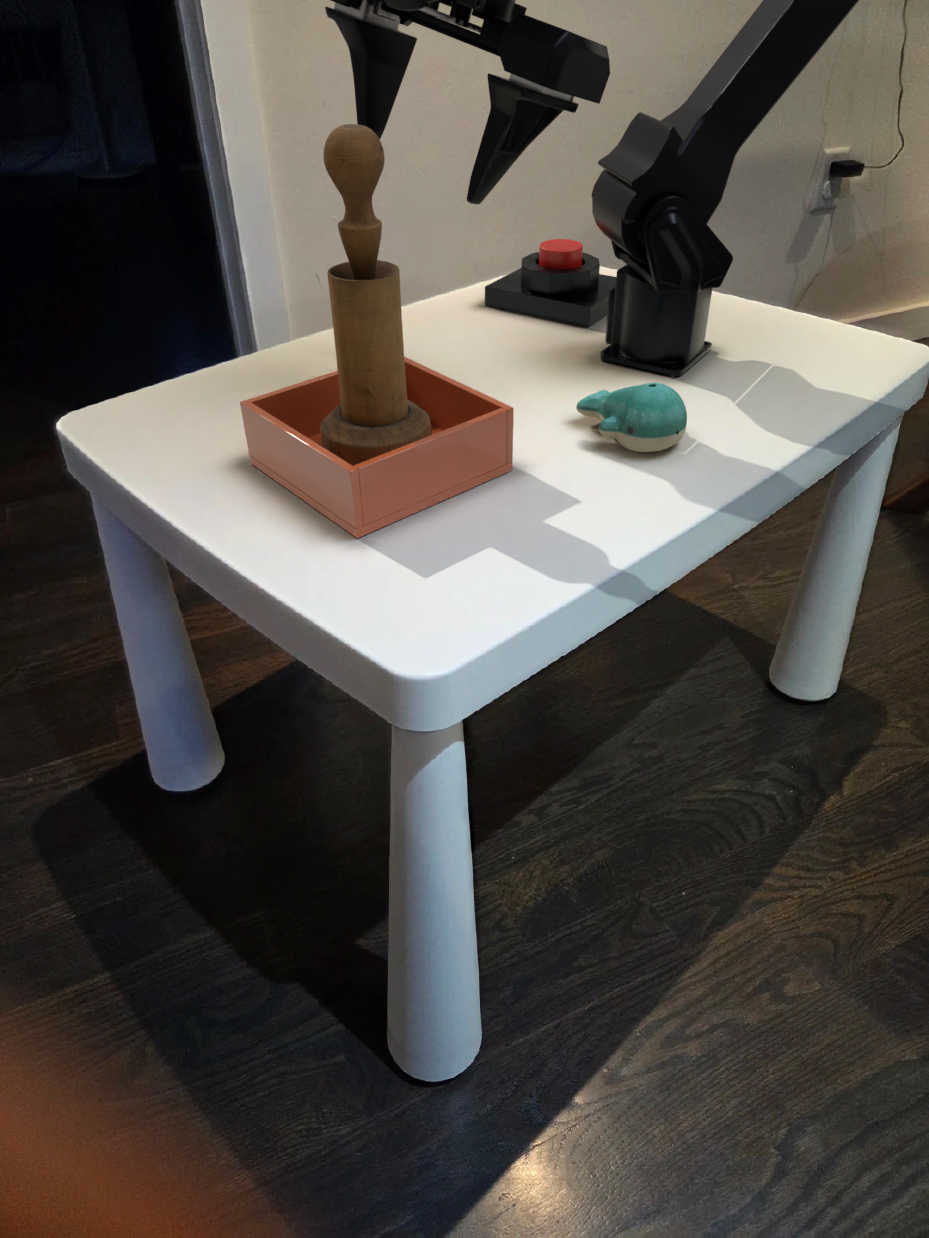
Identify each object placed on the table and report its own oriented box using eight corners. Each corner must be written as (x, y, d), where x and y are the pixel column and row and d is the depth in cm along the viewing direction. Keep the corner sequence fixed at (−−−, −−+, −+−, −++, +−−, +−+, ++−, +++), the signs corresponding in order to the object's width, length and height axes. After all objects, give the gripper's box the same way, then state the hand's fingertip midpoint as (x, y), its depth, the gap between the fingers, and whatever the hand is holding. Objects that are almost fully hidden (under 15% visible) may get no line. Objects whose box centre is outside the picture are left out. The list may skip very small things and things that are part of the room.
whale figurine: (643, 469, 55) (650, 411, 53) (556, 429, 60) (559, 374, 57) (703, 439, 58) (712, 383, 56) (616, 403, 63) (621, 350, 60)
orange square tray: (398, 409, 62) (394, 351, 60) (512, 470, 55) (514, 407, 53) (250, 463, 57) (239, 401, 54) (357, 538, 50) (350, 471, 47)
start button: (589, 264, 77) (590, 242, 76) (568, 275, 75) (570, 253, 74) (551, 257, 79) (552, 236, 78) (530, 268, 76) (531, 247, 75)
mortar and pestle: (405, 424, 59) (387, 110, 48) (451, 466, 55) (442, 129, 44) (308, 447, 57) (266, 122, 46) (347, 493, 52) (311, 144, 41)
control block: (631, 299, 79) (635, 258, 77) (588, 328, 74) (591, 284, 72) (531, 280, 84) (532, 241, 81) (484, 306, 78) (484, 264, 76)
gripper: (270, -217, 47) (222, 111, 55) (557, -135, 40) (453, 227, 48) (406, -143, 56) (347, 133, 64) (663, -64, 49) (559, 234, 57)
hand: (418, 177), depth 58 cm, fingers open, 9 cm apart
